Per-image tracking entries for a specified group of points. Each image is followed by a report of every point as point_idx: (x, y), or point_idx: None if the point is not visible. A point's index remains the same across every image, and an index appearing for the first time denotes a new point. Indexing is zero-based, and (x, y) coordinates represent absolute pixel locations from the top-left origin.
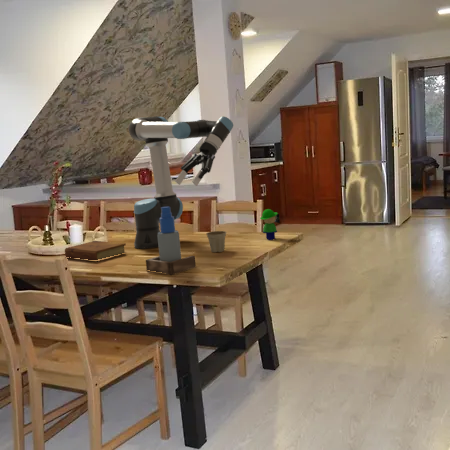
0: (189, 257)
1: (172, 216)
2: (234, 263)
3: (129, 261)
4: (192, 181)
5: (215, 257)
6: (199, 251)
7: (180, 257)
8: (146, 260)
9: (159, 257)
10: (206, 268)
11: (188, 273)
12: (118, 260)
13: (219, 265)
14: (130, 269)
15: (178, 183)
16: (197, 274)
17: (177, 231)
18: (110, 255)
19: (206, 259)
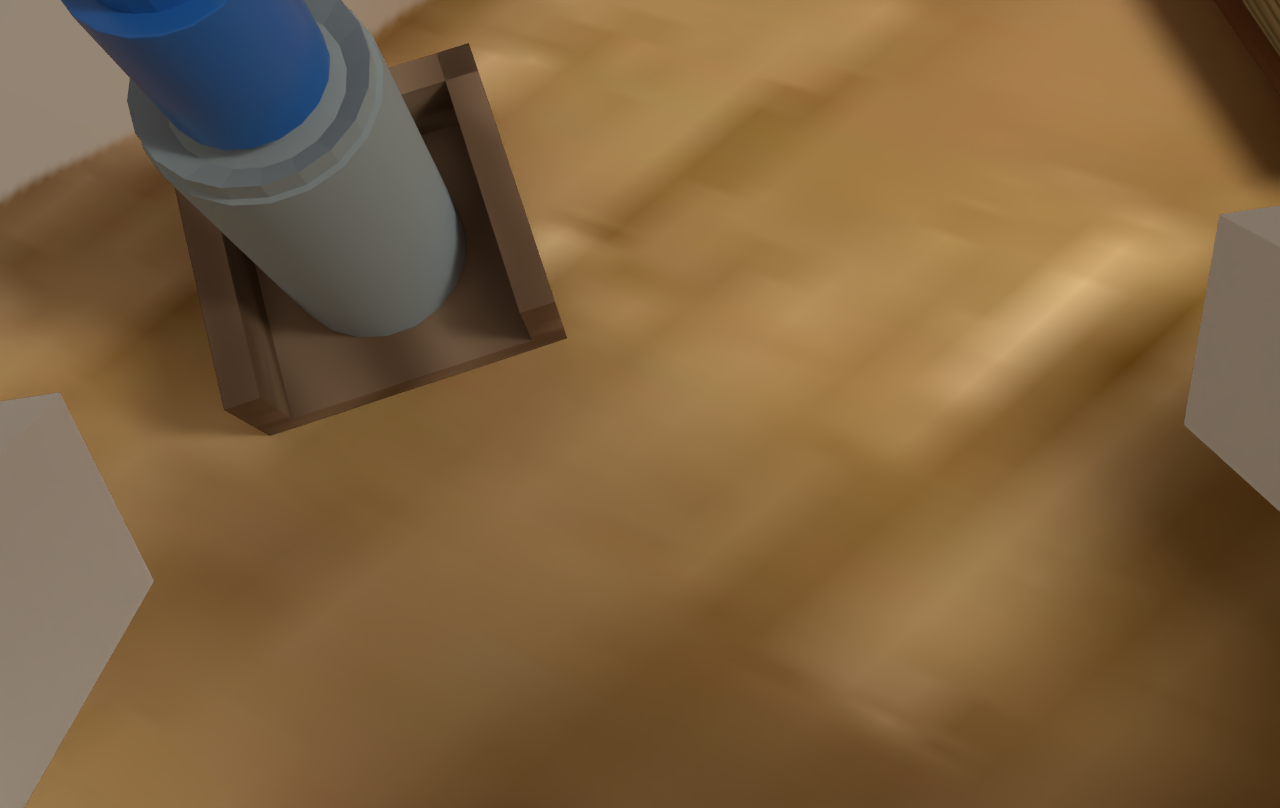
0: (210, 344)
1: (145, 30)
2: (89, 761)
3: (965, 116)
4: (37, 405)
5: (467, 764)
6: (881, 792)
7: (276, 283)
8: (459, 48)
9: (473, 165)
10: (153, 480)
11: (138, 300)
12: (1085, 62)
13: (146, 617)
14: (654, 32)
15: (1196, 359)
16: (48, 336)
17: (201, 176)
18: (1278, 34)
19: (463, 652)
